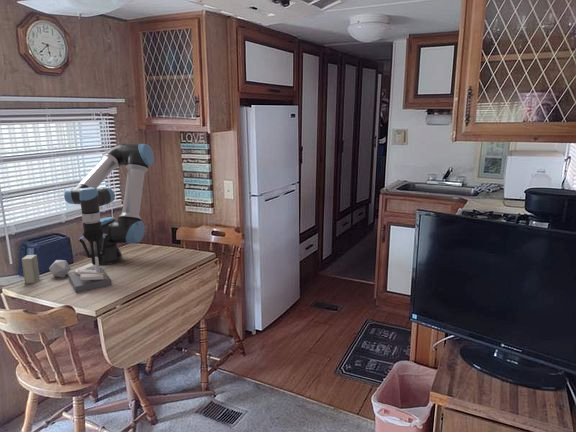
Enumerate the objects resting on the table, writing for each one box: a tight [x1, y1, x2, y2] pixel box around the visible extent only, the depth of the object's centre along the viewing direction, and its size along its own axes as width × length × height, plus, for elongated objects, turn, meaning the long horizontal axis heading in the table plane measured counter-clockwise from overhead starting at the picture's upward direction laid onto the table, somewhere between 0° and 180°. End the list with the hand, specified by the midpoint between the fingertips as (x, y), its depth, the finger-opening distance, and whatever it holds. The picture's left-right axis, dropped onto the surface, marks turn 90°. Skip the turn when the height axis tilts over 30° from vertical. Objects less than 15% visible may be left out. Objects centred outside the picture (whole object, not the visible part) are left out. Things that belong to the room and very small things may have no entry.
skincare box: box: [21, 254, 40, 284], centre depth 204 cm, size 6×4×12 cm
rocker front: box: [80, 274, 104, 280], centre depth 196 cm, size 4×9×1 cm, turn 124°
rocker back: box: [74, 262, 95, 275], centre depth 207 cm, size 4×9×1 cm, turn 124°
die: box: [48, 259, 72, 278], centre depth 211 cm, size 8×9×10 cm
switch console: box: [67, 266, 113, 294], centre depth 202 cm, size 21×15×4 cm
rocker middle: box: [77, 268, 101, 275], centre depth 202 cm, size 4×9×1 cm, turn 124°
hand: (97, 270), depth 204 cm, fingers closed
